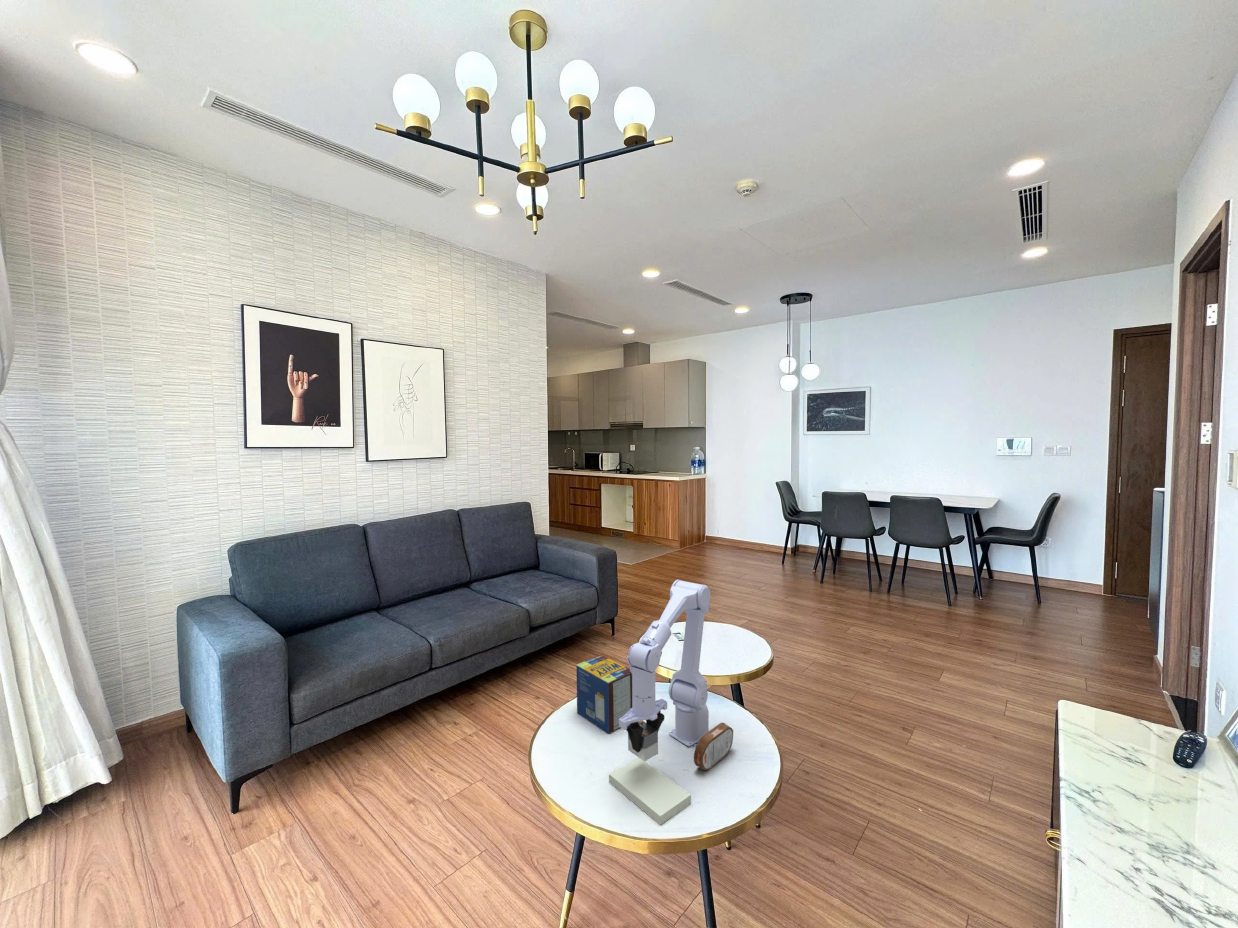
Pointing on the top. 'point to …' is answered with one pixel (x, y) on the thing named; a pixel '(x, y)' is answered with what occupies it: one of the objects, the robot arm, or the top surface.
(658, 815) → the sage stand
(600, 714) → the protein box
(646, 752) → the housing
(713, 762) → the tin
